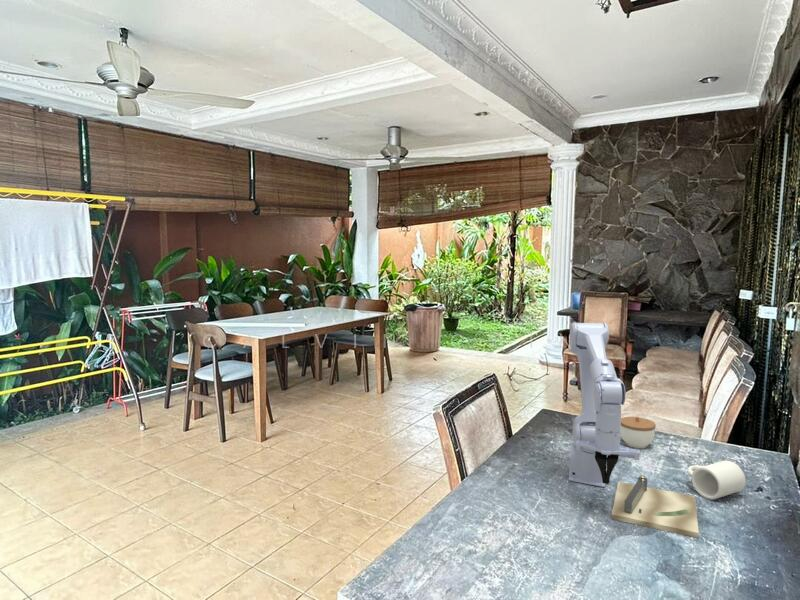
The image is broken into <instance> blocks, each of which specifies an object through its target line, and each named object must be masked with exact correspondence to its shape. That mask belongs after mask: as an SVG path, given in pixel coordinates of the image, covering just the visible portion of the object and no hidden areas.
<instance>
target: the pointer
mask: <svg viewBox="0 0 800 600" xmlns="http://www.w3.org/2000/svg"><path fill="white" fill-rule="evenodd" d="M634 485H635V486H634V487H633V489H632V490H631V492H630V493H629V495H628V496H627V498H626V499H625V506H624V511H626V512H630V513H632V511H633V509H634V508H635V506H636V504H637V503H638V501H639V499H640V498H641V496H642V494H643V493H644V491H646V490H647V487H648V477H646V476H645V475H640V476H638V477H637V481H636V483H635V484H634Z"/></svg>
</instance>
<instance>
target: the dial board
mask: <svg viewBox="0 0 800 600" xmlns="http://www.w3.org/2000/svg"><path fill="white" fill-rule="evenodd" d="M616 485H617V486H616V490H615V496H614V500H613V505H612V511H611V520H613V521H619V522H624V523H629V524H633V525H637V526H641V527H646V528H651V529H656V530H660V531H665V532H668V533H674V534H679V535H682V536H687V537H692V538H695V539H696V538H697V539H699V538H700V537H699V535H700V534H699V533H700V531H699V523H698V515H697V506H696V500H695V499H696V497H695V495H691V494H686V493H680V492H676V491H670V490H664V489H659V488H653V487H648V486H647V490H646V491H644V493H643V494H642V496H641V498H640V499H639V501H638V503H637V504H636V506H635V508H634V509H633V511H632V513H630V512H626V511H624V506H625V499H626V498H627V496H628V495H629V493H630V492H631V490H632V489H633V487H634V486H635V484H631V483H627V482H622V481H617V484H616Z"/></svg>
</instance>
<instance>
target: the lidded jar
mask: <svg viewBox="0 0 800 600" xmlns="http://www.w3.org/2000/svg"><path fill="white" fill-rule="evenodd" d="M656 427H657V426H656V423H655V422H654V421H653V420H650V419H647V418H644V417H640V416H623V417H621V429H620V438H621V439H622V440H623V441H624V443H625V444H626V446H629V448H632V449H646V448H647V447H648V446H649V445H650V444H651V443H652V442H653V440H654V437H655V434H656Z"/></svg>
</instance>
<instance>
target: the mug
mask: <svg viewBox="0 0 800 600" xmlns="http://www.w3.org/2000/svg"><path fill="white" fill-rule="evenodd" d="M686 473H687V475H688V476H689V477H691V482H692V485H693V488H694V490H695V491H696V492H697V493H698V494H699V495H700V496H701V497H703V498H704V499H707V500H712V501H713V500H717V499H720V498H722V497H726V496H729V495H732V494H734V493H739V492H741V491H743V489H745V486H746V482H747V481H746V480H747V479H746V476H745V474H744V472H743V469H741V468H740V466H738V465H737V463H735V462H732V461H730V460H721V461H718V462H717V461H716V462H715V463H711V464H710V463H709V464H707V465H697V464H695V465H691V466H690V465H689V466H688V468H687V469H686Z"/></svg>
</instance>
